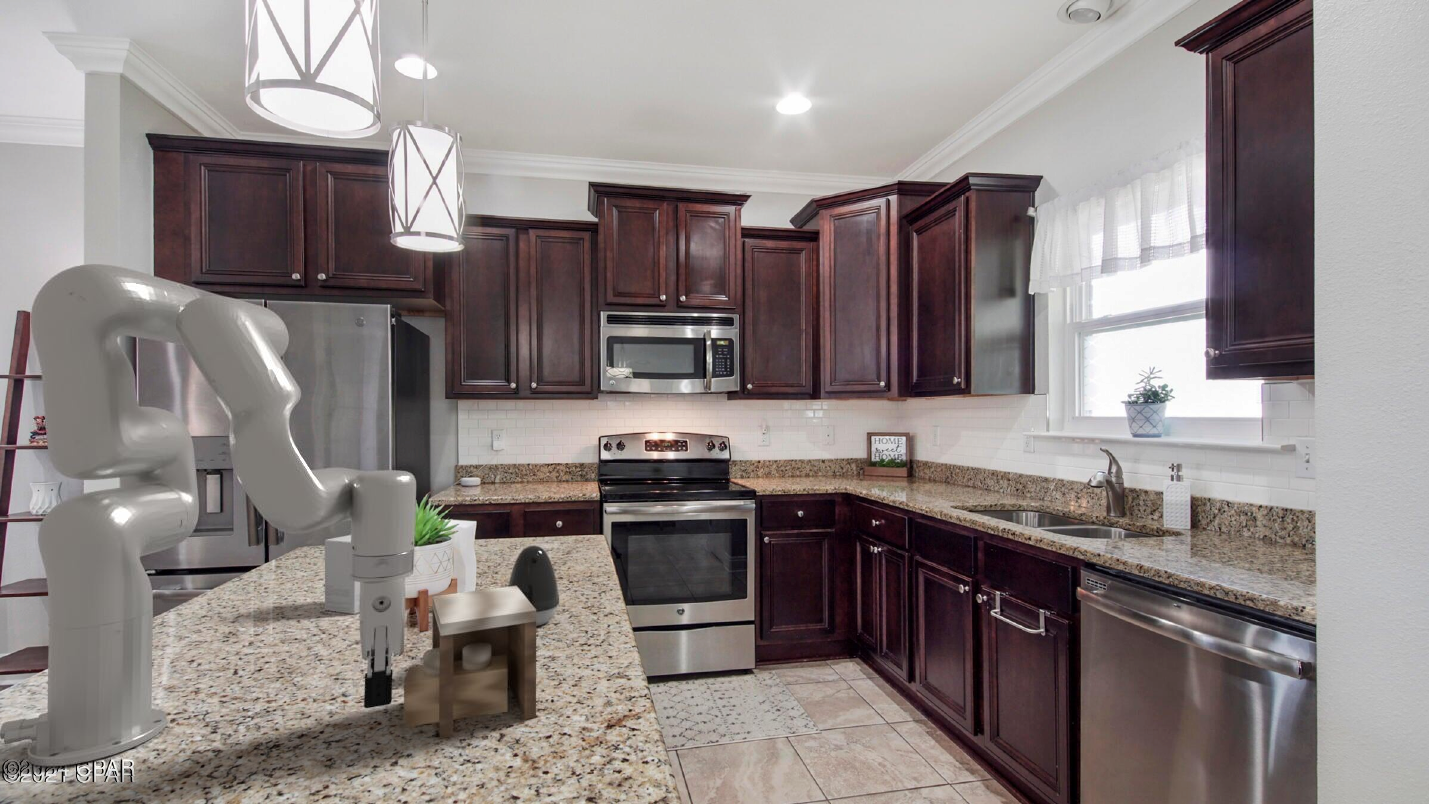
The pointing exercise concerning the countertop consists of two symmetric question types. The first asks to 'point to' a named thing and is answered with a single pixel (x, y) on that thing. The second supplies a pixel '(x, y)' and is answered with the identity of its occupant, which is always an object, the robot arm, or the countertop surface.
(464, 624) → the wooden mini stool
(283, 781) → the countertop surface
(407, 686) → the tan toy brick
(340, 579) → the supplement box
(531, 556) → the dark grey egg dome
